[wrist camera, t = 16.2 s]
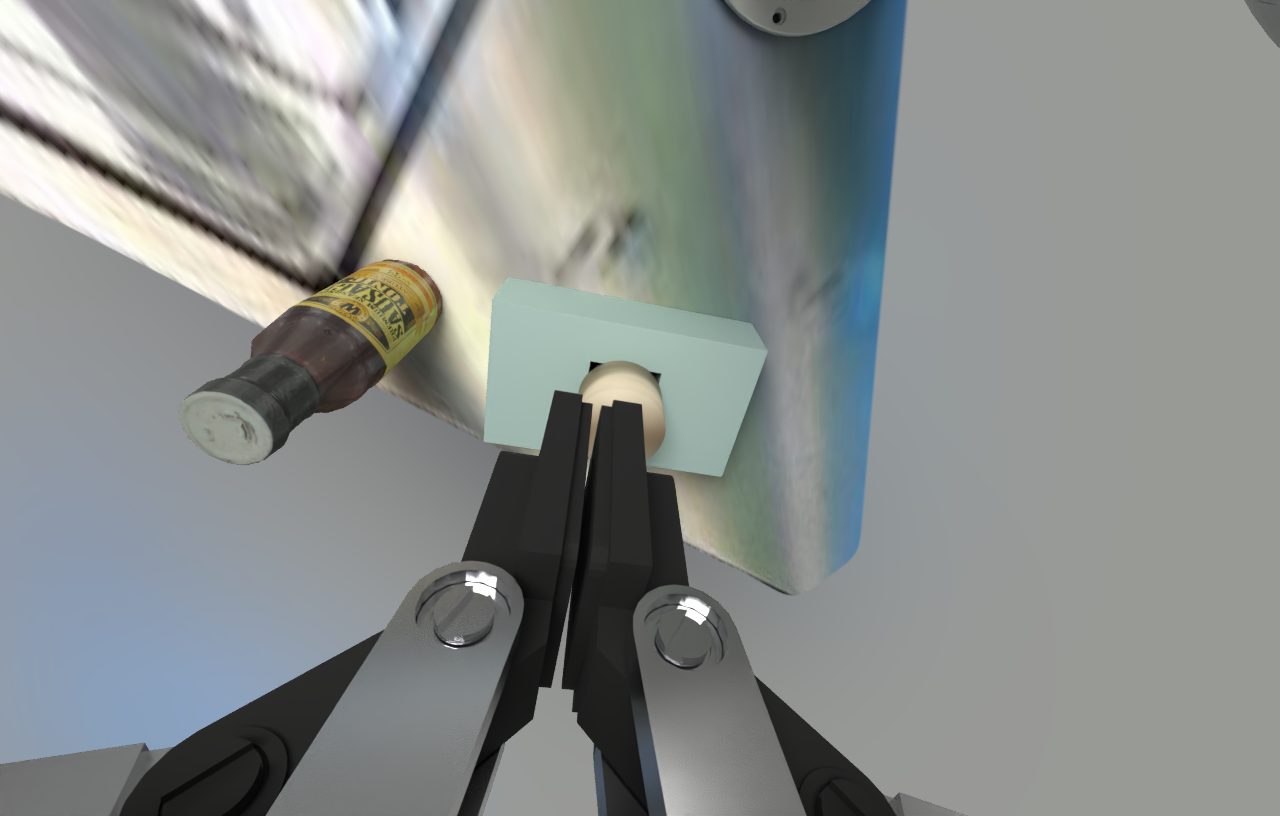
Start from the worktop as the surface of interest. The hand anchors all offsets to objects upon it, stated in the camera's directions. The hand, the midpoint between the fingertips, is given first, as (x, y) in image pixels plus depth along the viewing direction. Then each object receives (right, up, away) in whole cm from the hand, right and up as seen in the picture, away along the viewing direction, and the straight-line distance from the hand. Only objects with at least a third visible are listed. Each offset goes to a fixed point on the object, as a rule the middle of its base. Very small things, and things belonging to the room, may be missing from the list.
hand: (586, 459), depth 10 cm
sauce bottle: (-18, +10, +30) cm, 36 cm away
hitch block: (-1, +5, +34) cm, 34 cm away
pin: (-1, +4, +33) cm, 33 cm away
